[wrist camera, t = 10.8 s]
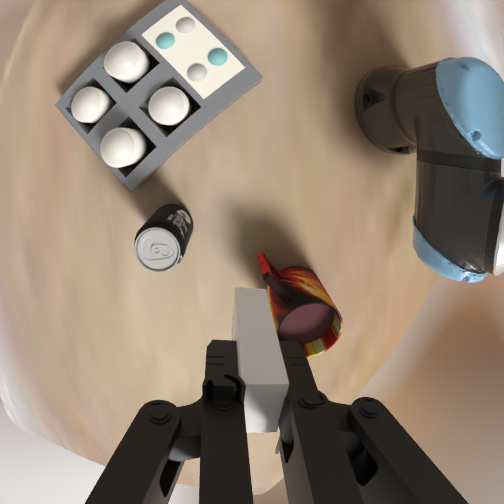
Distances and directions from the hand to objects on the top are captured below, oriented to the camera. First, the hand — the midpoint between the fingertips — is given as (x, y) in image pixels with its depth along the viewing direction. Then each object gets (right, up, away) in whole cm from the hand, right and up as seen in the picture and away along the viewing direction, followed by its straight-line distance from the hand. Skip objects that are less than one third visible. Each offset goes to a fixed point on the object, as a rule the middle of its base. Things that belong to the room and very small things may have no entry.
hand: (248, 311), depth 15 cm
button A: (-11, +24, +24) cm, 36 cm away
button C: (-17, +29, +19) cm, 39 cm away
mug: (+6, -3, +37) cm, 37 cm away
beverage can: (-12, +8, +31) cm, 34 cm away
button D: (-23, +25, +23) cm, 41 cm away
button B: (-17, +18, +23) cm, 34 cm away
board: (-14, +27, +23) cm, 38 cm away
